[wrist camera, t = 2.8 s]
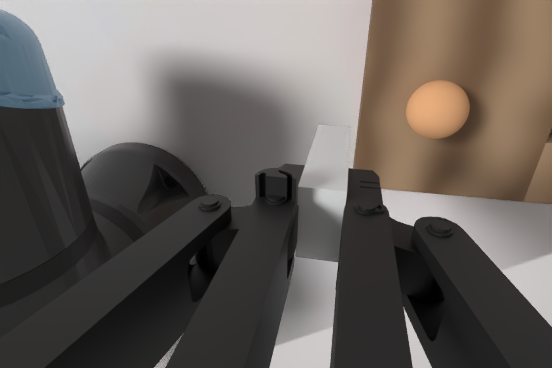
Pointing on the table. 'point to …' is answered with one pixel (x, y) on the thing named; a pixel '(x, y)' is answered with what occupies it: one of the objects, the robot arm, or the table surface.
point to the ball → (437, 109)
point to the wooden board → (477, 85)
